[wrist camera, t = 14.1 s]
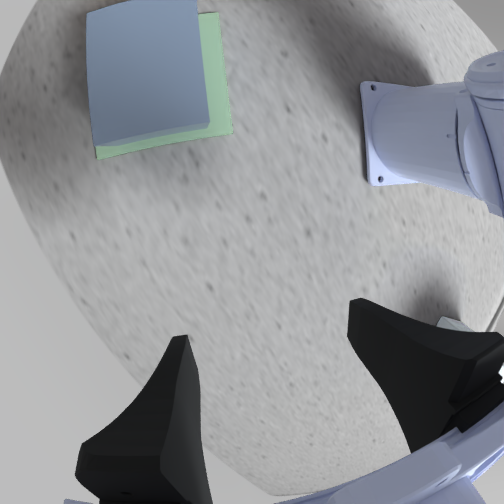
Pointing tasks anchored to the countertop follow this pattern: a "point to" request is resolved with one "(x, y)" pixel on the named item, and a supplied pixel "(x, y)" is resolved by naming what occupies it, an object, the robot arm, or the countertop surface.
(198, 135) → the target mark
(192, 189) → the countertop surface
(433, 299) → the countertop surface
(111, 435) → the robot arm
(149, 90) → the grey-blue rectangular brick
